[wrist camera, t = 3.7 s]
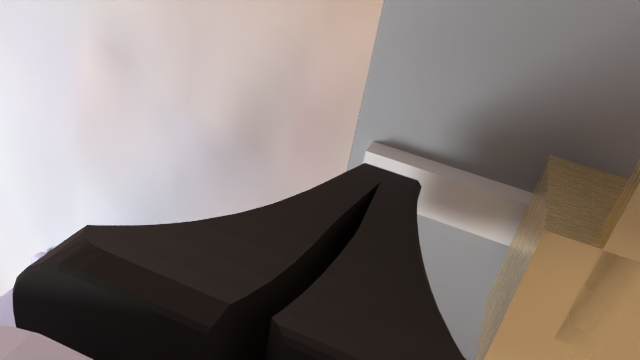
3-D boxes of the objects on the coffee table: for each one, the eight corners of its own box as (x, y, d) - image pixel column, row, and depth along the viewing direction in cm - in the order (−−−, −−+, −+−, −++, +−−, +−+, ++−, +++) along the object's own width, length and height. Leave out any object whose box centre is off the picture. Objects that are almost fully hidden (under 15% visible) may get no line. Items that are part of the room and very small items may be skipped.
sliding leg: (489, 287, 14) (469, 390, 11) (644, -73, 9) (676, -54, 7) (589, 324, 13) (594, 443, 10) (802, -40, 9) (911, -6, 6)
